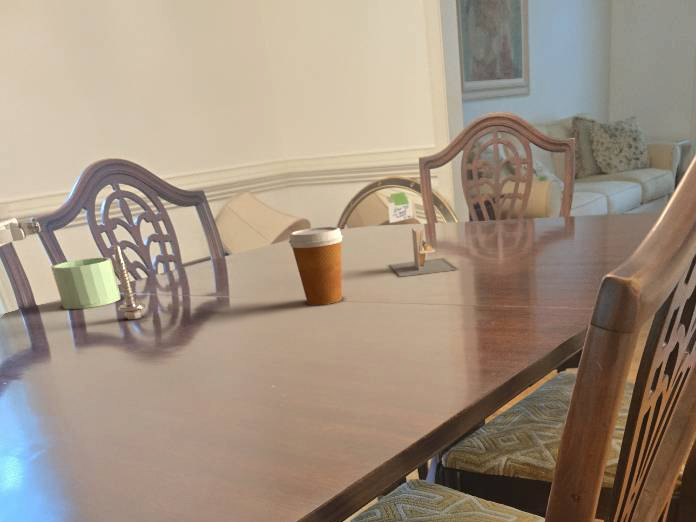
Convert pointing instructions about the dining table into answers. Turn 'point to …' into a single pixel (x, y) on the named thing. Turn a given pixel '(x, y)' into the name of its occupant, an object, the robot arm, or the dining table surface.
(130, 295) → the screw
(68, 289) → the green cup
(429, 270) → the architectural model
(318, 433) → the dining table surface
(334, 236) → the disposable coffee cup
